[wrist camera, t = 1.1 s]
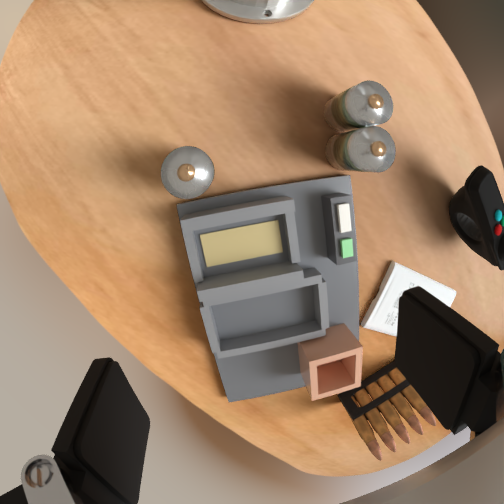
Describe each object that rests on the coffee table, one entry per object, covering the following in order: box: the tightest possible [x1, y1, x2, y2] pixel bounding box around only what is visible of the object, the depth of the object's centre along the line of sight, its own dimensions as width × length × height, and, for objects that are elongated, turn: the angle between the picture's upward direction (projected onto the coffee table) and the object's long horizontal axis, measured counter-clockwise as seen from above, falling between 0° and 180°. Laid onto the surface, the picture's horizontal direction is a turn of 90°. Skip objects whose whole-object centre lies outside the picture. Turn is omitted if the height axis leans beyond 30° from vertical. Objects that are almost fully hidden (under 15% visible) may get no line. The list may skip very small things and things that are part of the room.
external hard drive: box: [360, 261, 456, 336], centre depth 32 cm, size 2×8×12 cm
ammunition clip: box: [338, 360, 436, 460], centre depth 29 cm, size 11×2×12 cm, turn 119°
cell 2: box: [324, 81, 393, 132], centre depth 22 cm, size 4×4×7 cm
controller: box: [449, 166, 504, 270], centre depth 25 cm, size 4×12×10 cm, turn 41°
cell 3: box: [325, 126, 396, 172], centre depth 23 cm, size 4×4×7 cm
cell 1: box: [161, 146, 214, 199], centre depth 22 cm, size 4×4×7 cm
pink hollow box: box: [297, 323, 363, 401], centre depth 29 cm, size 5×5×5 cm
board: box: [177, 175, 359, 402], centre depth 28 cm, size 23×16×4 cm
